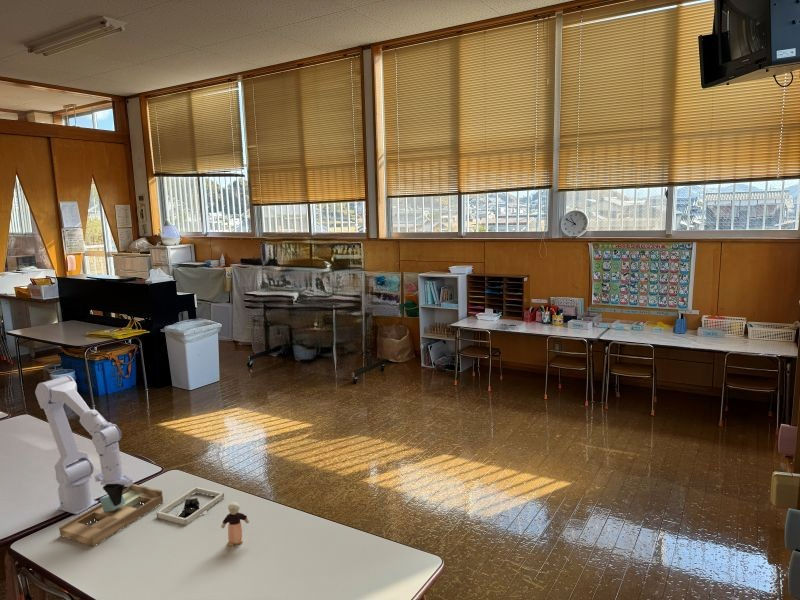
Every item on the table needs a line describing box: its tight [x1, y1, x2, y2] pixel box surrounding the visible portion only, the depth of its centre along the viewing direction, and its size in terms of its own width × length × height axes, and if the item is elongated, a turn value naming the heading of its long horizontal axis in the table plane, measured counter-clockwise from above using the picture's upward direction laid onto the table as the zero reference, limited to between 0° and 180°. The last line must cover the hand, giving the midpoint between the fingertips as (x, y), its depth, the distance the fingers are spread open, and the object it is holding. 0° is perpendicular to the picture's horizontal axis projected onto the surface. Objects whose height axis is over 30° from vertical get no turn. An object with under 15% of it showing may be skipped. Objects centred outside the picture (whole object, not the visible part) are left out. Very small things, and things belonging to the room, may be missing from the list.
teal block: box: [99, 493, 125, 512], centre depth 175 cm, size 4×4×4 cm
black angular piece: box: [178, 497, 200, 518], centre depth 177 cm, size 12×7×5 cm, turn 104°
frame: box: [155, 486, 225, 526], centre depth 180 cm, size 12×17×2 cm
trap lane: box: [58, 483, 164, 547], centre depth 174 cm, size 15×26×4 cm, turn 157°
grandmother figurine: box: [220, 501, 250, 547], centre depth 159 cm, size 8×4×13 cm, turn 118°
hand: (117, 504), depth 174 cm, fingers closed, pressing on teal block
